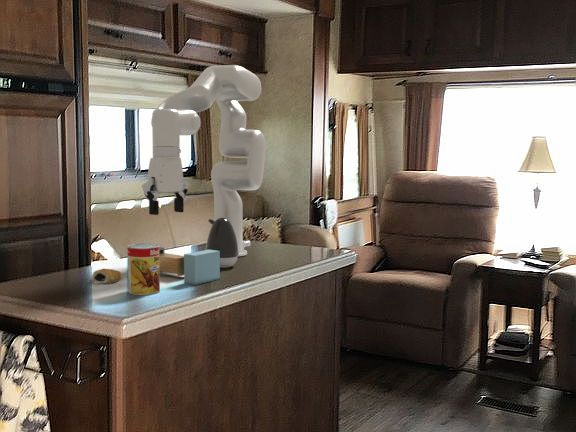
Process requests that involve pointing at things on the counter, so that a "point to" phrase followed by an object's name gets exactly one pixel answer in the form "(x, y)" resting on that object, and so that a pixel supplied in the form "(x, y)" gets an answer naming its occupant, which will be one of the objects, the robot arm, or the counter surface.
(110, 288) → the counter surface
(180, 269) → the tan wooden plank
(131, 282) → the canned food
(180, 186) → the robot arm
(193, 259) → the socket block
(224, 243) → the pump dispenser
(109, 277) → the pastry
